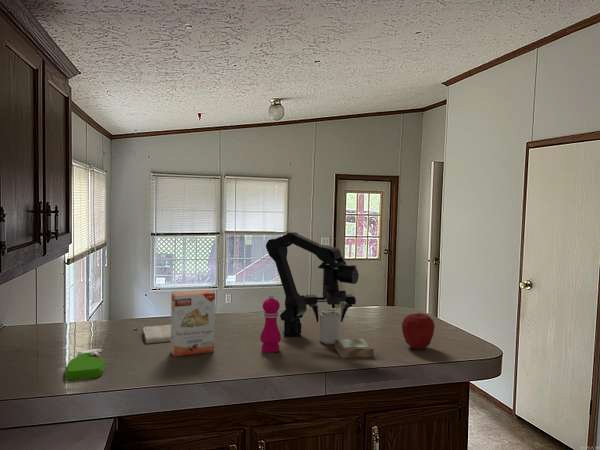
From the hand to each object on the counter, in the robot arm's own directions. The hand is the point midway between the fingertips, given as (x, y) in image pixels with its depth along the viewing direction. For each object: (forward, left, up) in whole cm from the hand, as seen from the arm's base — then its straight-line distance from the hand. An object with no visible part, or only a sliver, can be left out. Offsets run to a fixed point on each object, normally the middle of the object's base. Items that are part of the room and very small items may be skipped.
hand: (329, 322), depth 177 cm
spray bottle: (-82, -18, -8) cm, 84 cm away
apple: (+31, -10, -8) cm, 34 cm away
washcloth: (-64, +13, -8) cm, 66 cm away
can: (0, 0, -8) cm, 8 cm away
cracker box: (-50, -8, -8) cm, 51 cm away
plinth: (+6, -13, -8) cm, 16 cm away
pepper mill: (-23, -8, -8) cm, 26 cm away
